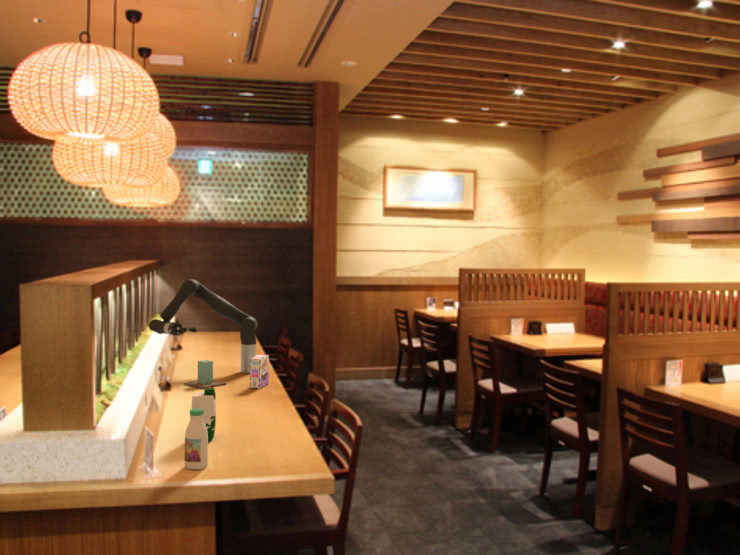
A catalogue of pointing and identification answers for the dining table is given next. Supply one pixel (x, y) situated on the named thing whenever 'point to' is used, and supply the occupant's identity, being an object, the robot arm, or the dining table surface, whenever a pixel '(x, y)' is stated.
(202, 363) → the teal cap
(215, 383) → the walnut base
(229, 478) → the dining table surface
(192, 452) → the milk bottle
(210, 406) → the white green-capped container
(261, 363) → the candy box
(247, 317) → the robot arm
